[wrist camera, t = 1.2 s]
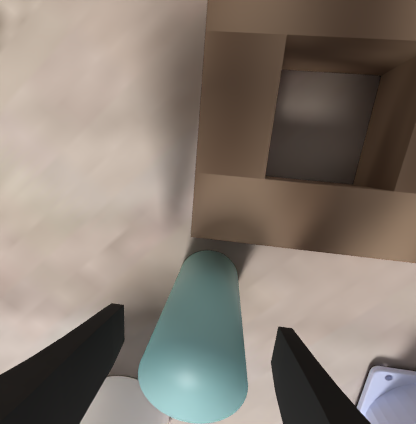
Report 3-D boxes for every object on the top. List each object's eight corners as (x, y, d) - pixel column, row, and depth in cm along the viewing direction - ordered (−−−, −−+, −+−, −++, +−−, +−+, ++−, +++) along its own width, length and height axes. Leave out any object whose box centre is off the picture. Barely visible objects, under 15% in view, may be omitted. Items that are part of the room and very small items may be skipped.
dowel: (241, 254, 14) (255, 346, 7) (234, 305, 14) (240, 431, 8) (181, 246, 14) (138, 328, 7) (178, 298, 15) (137, 413, 8)
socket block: (473, 2, 9) (582, -69, 7) (393, 242, 12) (445, 266, 9) (217, -7, 10) (212, -74, 7) (198, 220, 13) (190, 236, 10)
